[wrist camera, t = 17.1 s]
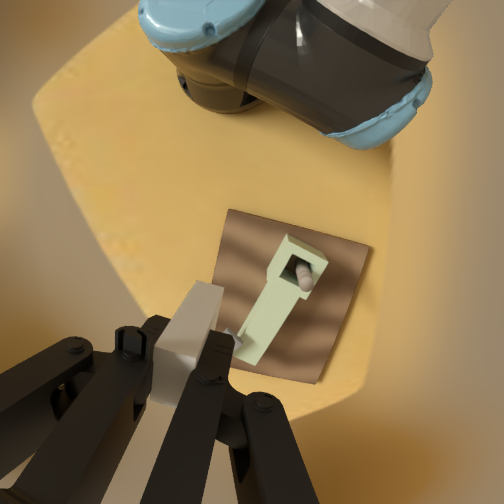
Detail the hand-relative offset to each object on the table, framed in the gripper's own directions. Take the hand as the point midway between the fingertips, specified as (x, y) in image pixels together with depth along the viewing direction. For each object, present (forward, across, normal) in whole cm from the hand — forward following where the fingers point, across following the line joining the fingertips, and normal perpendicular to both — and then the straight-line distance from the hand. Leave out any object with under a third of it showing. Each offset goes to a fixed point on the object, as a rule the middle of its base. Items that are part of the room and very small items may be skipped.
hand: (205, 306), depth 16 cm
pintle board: (+29, +8, -12) cm, 33 cm away
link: (+28, +7, -10) cm, 31 cm away
